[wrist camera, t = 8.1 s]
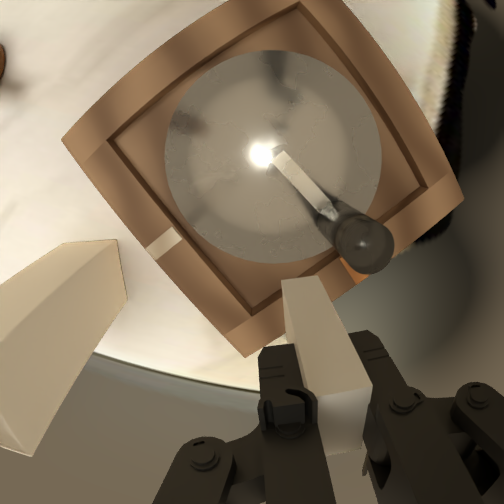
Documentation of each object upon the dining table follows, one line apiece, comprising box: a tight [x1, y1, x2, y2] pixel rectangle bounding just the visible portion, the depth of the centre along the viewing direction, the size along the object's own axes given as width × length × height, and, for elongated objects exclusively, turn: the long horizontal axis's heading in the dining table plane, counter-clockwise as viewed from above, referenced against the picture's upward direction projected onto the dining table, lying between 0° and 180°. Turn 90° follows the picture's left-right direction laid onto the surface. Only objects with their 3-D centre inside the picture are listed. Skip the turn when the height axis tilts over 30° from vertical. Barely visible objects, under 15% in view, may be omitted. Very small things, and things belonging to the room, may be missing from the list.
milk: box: [0, 240, 127, 456], centre depth 17 cm, size 6×6×22 cm
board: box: [61, 0, 464, 358], centre depth 23 cm, size 24×24×3 cm
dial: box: [165, 50, 395, 275], centre depth 19 cm, size 16×16×8 cm
